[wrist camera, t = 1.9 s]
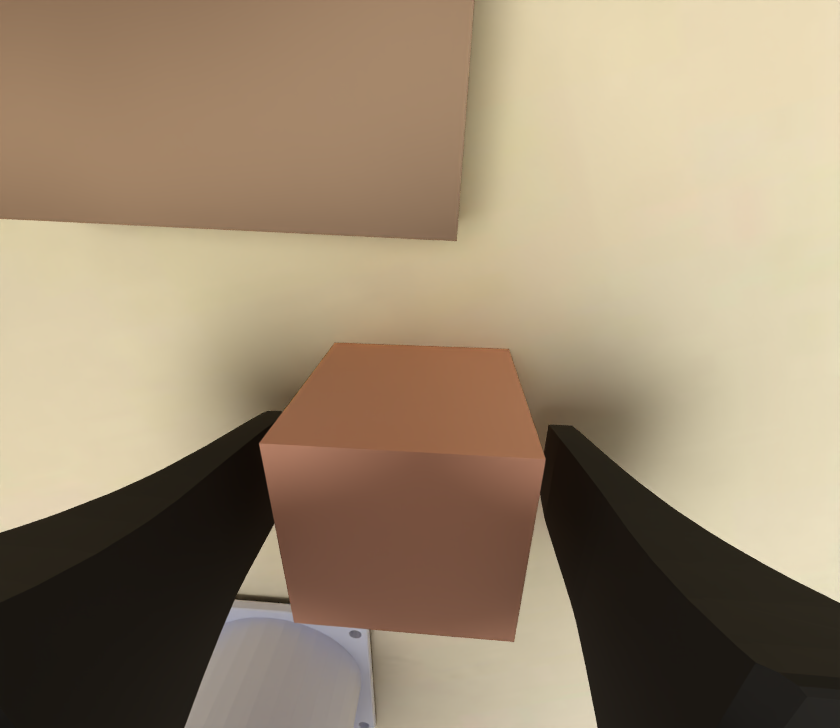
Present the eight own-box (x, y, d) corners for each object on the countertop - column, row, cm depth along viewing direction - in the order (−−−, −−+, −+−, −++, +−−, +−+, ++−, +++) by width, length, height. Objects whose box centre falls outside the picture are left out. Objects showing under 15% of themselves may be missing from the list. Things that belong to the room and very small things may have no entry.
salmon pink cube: (493, 485, 13) (513, 641, 9) (347, 476, 14) (294, 622, 9) (508, 348, 11) (546, 459, 7) (335, 341, 12) (258, 443, 7)
